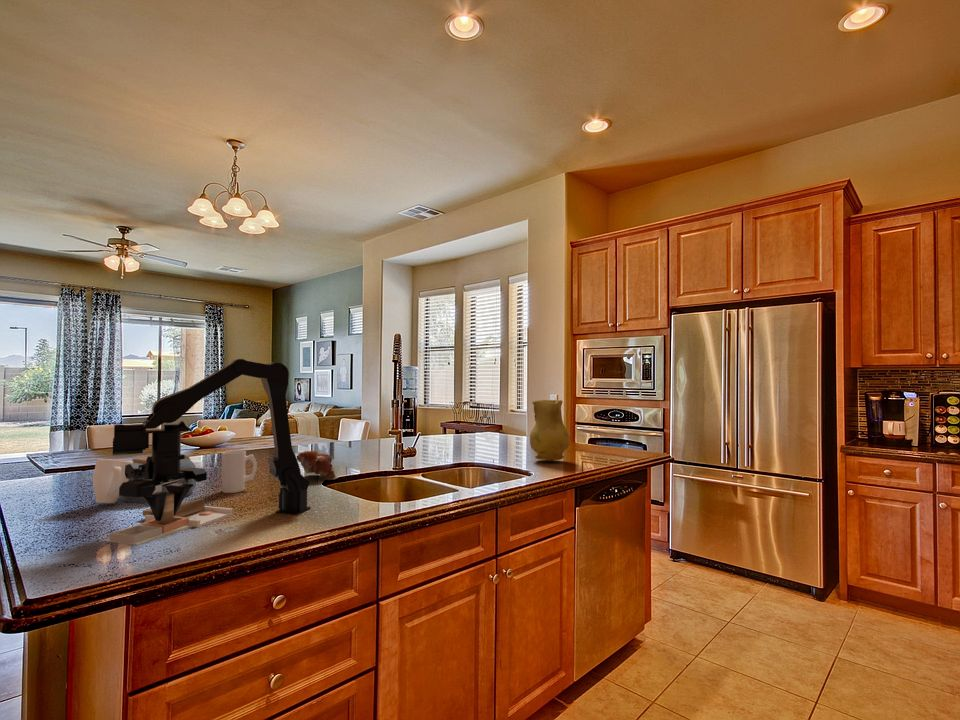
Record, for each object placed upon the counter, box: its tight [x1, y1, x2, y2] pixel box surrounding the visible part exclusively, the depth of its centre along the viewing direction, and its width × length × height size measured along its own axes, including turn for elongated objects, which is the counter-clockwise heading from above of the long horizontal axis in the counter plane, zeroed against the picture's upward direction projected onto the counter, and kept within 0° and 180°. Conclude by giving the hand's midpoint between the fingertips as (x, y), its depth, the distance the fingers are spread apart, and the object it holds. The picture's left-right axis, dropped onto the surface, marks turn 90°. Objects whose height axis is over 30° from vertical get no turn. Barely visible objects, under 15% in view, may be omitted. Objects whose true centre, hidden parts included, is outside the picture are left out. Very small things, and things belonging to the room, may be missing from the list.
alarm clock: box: [122, 454, 197, 504], centre depth 150 cm, size 19×20×12 cm
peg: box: [157, 493, 174, 525], centre depth 117 cm, size 3×3×7 cm
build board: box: [104, 516, 194, 546], centre depth 113 cm, size 9×14×2 cm, turn 164°
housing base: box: [144, 505, 234, 528], centre depth 126 cm, size 16×11×2 cm
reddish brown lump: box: [296, 450, 340, 481], centre depth 176 cm, size 16×13×10 cm
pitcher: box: [529, 399, 570, 461], centre depth 219 cm, size 17×19×25 cm
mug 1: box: [92, 458, 133, 504], centre depth 137 cm, size 12×8×11 cm
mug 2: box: [221, 449, 258, 494], centre depth 157 cm, size 10×7×12 cm, turn 119°
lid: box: [142, 497, 206, 517], centre depth 127 cm, size 10×9×3 cm
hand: (165, 518), depth 117 cm, fingers closed on peg, 3 cm apart
